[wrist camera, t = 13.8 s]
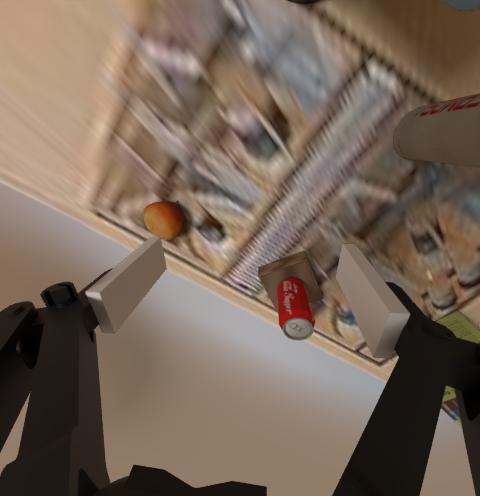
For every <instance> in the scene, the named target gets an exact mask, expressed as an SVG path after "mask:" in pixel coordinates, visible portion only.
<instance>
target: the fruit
mask: <svg viewBox="0 0 480 496" xmlns="http://www.w3.org/2000/svg"><path fill="white" fill-rule="evenodd" d="M177 202H178V200H177ZM177 202H176V203H175V204H174V203H172V202H168V201H162V202H155V203H152V204H150V205H148V206H147V207H146V208H145V210H144V212H143V216H144V221H145V223H146V226H147V228H148V229H149V230H150V231H151V232H152V233H153V234H155V235H156V236H158V237H160V238H162V239H164V240H171V239H172V238H174V237H175V236H176V235H177V234H178V233H179V232H180V230H181V229H182V227H183V224H184V220H185V217H184V215H183V213H182V212H181V210H180V209H179V207H178V205H177Z"/></svg>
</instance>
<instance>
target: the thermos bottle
mask: <svg viewBox="0 0 480 496" xmlns="http://www.w3.org/2000/svg"><path fill="white" fill-rule="evenodd" d="M393 143H394V148H395V150H396V152H397V153H398V154H399V155H400V156H401V157H403V158H406V159H412V160H420V161H429V162H441V163H449V164H455V165H464V166H473V167H480V94H475V95H471V96H466V97H461V98H457V99H453V100H448V101H444V102H440V103H436V104H431V105H427V106H423V107H419V108H417V109H415V110H413V111H411V112H410V113H408V114H407V115H406V116H405V117H404V118H403V119H402V120H401V121H400V123H399V125H398V126H397V128H396V130H395V133H394V138H393Z"/></svg>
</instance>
